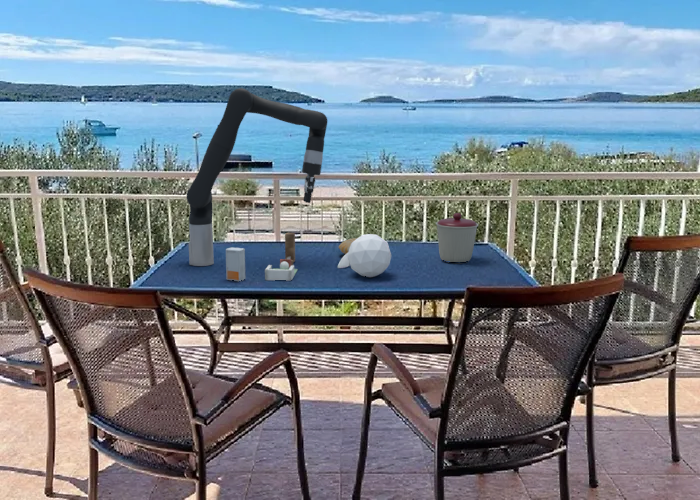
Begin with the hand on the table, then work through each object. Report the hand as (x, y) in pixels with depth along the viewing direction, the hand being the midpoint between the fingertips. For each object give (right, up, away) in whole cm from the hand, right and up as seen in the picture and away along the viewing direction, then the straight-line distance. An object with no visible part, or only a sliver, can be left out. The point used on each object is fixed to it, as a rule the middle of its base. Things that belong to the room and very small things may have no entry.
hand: (306, 202), depth 243 cm
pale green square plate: (-9, -28, -6) cm, 30 cm away
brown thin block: (-8, -25, +7) cm, 27 cm away
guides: (-8, -27, +2) cm, 28 cm away
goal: (-9, -30, -14) cm, 35 cm away
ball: (-9, -26, -4) cm, 28 cm away
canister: (+63, -24, +16) cm, 70 cm away
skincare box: (-25, -31, -17) cm, 44 cm away
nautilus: (+23, -22, +25) cm, 41 cm away
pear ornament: (+23, -29, -5) cm, 37 cm away
